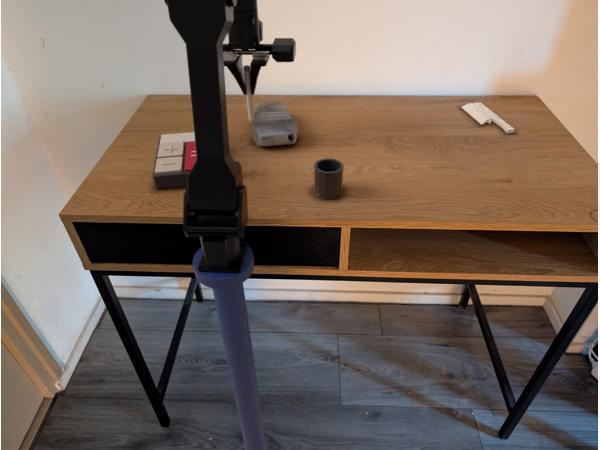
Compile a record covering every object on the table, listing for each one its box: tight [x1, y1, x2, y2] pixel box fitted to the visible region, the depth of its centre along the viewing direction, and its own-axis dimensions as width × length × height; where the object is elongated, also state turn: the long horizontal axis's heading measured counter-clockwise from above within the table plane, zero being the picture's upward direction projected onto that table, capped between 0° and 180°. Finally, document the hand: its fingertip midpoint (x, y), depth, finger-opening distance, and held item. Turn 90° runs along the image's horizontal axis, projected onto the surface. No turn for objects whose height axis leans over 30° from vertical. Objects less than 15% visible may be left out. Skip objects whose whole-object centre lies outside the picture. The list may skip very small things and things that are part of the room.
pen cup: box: [313, 157, 345, 201], centre depth 77 cm, size 5×5×6 cm
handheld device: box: [252, 101, 299, 147], centre depth 97 cm, size 10×20×5 cm, turn 8°
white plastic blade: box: [461, 101, 516, 134], centre depth 100 cm, size 5×15×1 cm, turn 10°
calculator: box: [152, 131, 197, 190], centre depth 85 cm, size 11×4×15 cm
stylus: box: [243, 64, 255, 122], centre depth 86 cm, size 1×1×11 cm
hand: (249, 94), depth 86 cm, fingers closed on stylus, 1 cm apart
